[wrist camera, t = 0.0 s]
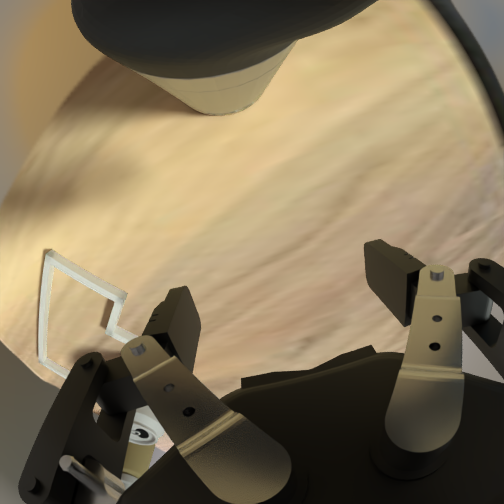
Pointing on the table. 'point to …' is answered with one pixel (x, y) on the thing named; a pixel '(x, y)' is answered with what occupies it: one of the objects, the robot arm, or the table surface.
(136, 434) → the can
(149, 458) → the squeeze bottle
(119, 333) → the t outline
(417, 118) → the table surface
